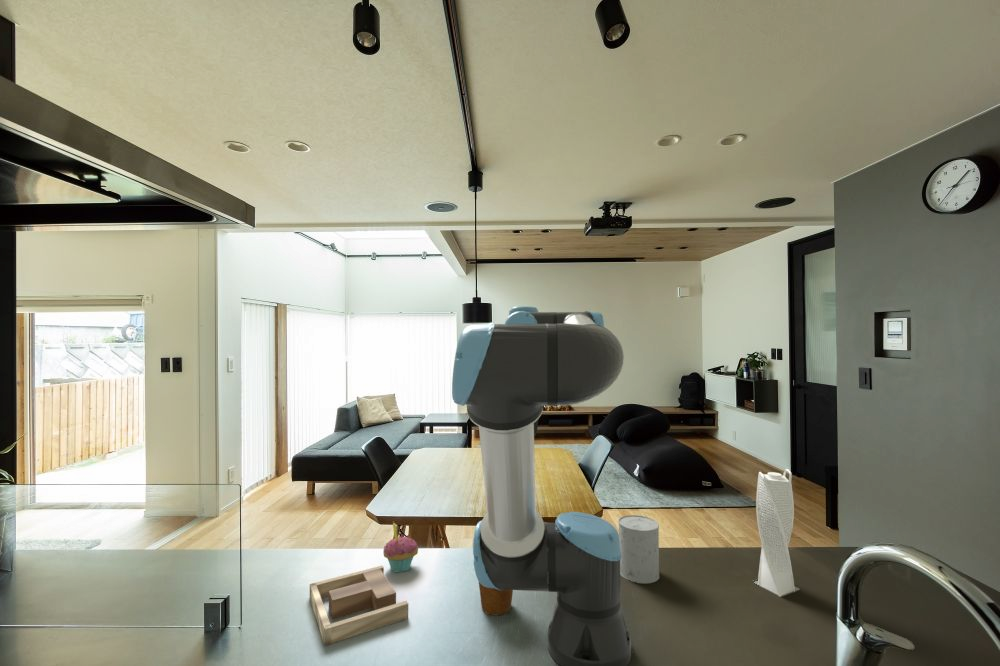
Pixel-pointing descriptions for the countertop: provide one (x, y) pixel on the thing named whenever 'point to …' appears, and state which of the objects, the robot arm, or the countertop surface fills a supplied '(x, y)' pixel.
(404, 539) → the cupcake
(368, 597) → the t block
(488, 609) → the disposable coffee cup
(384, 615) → the bay
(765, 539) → the skyscraper
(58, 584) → the countertop surface
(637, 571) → the white marble cylinder
